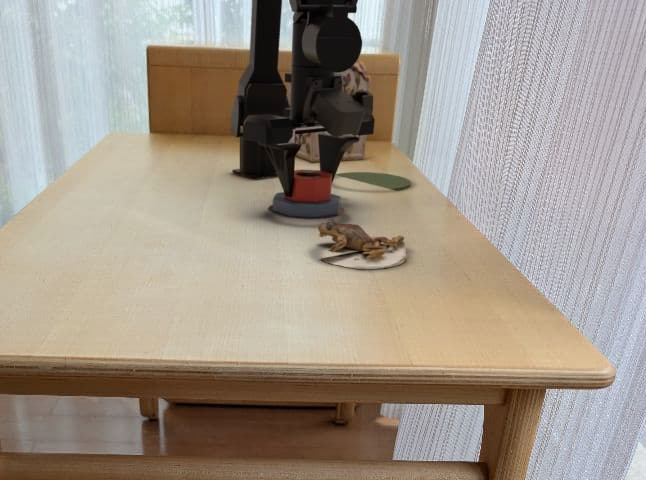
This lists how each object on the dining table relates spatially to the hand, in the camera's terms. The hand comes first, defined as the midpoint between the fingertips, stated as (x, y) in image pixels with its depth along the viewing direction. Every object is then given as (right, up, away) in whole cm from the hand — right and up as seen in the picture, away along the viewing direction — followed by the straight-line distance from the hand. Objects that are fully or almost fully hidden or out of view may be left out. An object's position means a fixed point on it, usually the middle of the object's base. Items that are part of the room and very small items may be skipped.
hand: (307, 193), depth 114 cm
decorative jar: (+6, +25, +42) cm, 50 cm away
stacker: (0, -3, +2) cm, 3 cm away
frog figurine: (+6, -14, -14) cm, 20 cm away
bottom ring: (0, -2, +1) cm, 2 cm away
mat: (+11, +11, +22) cm, 27 cm away
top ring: (0, 0, 0) cm, 0 cm away
